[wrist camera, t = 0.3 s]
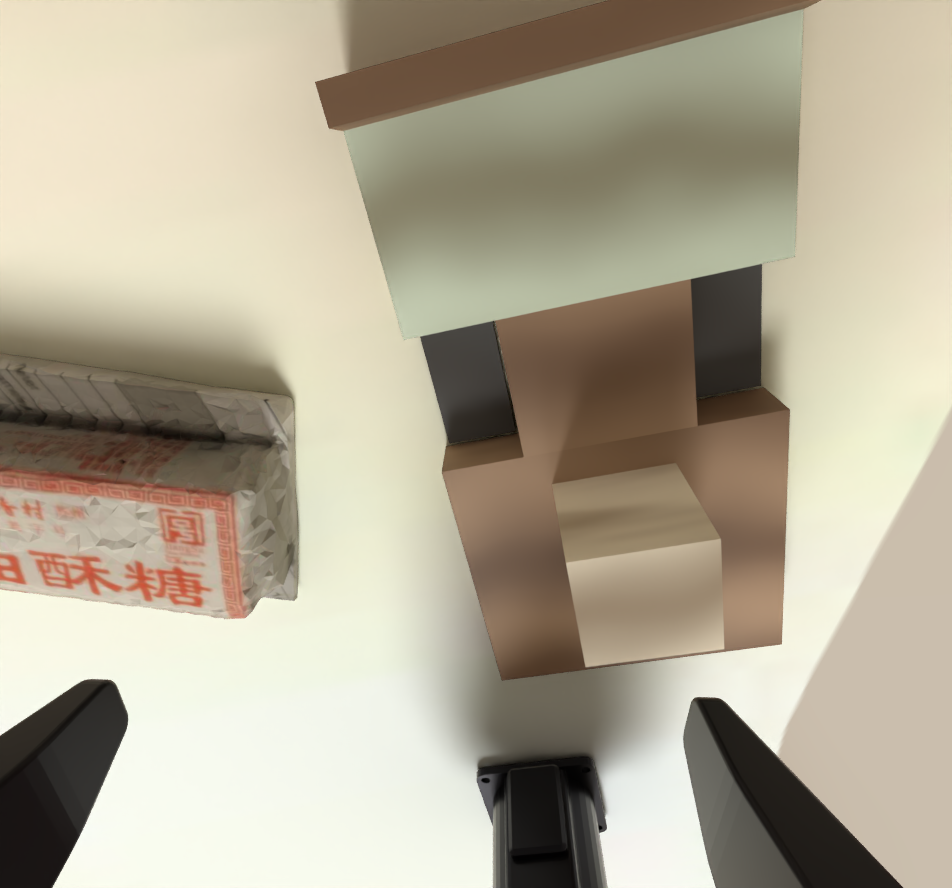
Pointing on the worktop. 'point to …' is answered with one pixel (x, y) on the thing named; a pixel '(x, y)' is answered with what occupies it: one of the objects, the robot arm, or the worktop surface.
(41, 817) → the robot arm
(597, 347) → the trap deck
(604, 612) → the birch block
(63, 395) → the packaged product
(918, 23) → the worktop surface
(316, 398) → the worktop surface
